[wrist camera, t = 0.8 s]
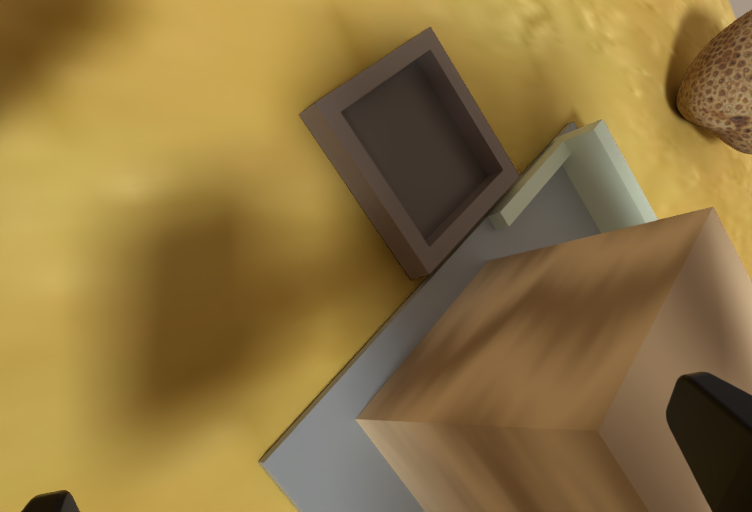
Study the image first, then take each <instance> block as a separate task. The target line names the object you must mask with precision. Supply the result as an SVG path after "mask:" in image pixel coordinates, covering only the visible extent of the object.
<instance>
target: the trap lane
mask: <svg viewBox="0 0 752 512" xmlns="http://www.w3.org/2000/svg"><path fill="white" fill-rule="evenodd" d="M299 116H300V117H301V119H302V120H303V122H304V123H305V125H306V126H307V127H308V129H309V130H310V132H311V133H312V135H313V136H314V138H315V139H316V141H317V142H318V144H319V145H320V147H321V148H322V150H323V151H324V153H325V154H326V155H327V157H328V158H329V160H330V161H331V163H332V164H333V166H334V167H335V169H336V170H337V172H338V173H339V175H340V176H341V178H342V179H343V180H344V182H345V183H346V185H347V186H348V188H349V189H350V191H351V192H352V194H353V195H354V197H355V198H356V200H357V201H358V203H359V204H360V205H361V207H362V208H363V210H364V211H365V213H366V214H367V216H368V217H369V219H370V220H371V222H372V223H373V225H374V226H375V228H376V229H377V231H378V232H379V233H380V235H381V236H382V238H383V239H384V241H385V242H386V244H387V245H388V247H389V248H390V250H391V251H392V253H393V254H394V256H395V257H396V258H397V260H398V261H399V263H400V264H401V266H402V267H403V269H404V270H405V272H406V273H407V275H408V276H409V278H410V279H413V278H417V277H421V276H425V275H429V274H430V273H431V272H432V273H431V274H430V275H429V276H428V277H427V278H426V279H425V280H424V281H423V282H422V284H421V285H420V286H419V287H418V288H417V289H416V290H415V291H414V292H413V293H412V294H411V296H410V297H409V298H408V299H407V300H406V301H405V302H404V303H403V304H402V305H401V306H400V308H399V309H398V310H397V311H396V312H395V313H394V314H393V315H392V316H391V317H390V319H389V320H388V321H387V322H386V323H385V324H384V325H383V326H382V327H381V328H380V329H379V331H378V332H377V333H376V334H375V335H374V336H373V337H372V338H371V339H370V340H369V341H368V343H367V344H366V345H365V346H364V347H363V348H362V349H361V350H360V351H359V352H358V353H357V355H356V356H355V357H354V358H353V359H352V360H351V361H350V362H349V363H348V364H347V366H346V367H345V368H344V369H343V370H342V371H341V372H340V373H339V374H338V375H337V376H336V378H335V379H334V380H333V381H332V382H331V383H330V384H329V385H328V386H327V387H326V388H325V390H324V391H323V392H322V393H321V394H320V395H319V396H318V397H317V398H316V399H315V400H314V402H313V403H312V404H311V405H310V406H309V407H308V408H307V409H306V410H305V411H304V413H303V414H302V415H301V416H300V417H299V418H298V419H297V420H296V421H295V422H294V423H293V425H292V426H291V427H290V428H289V429H288V430H287V431H286V432H285V433H284V434H283V435H282V437H281V438H280V439H279V440H278V441H277V442H276V443H275V444H274V445H273V446H272V447H271V449H270V450H269V451H268V452H267V453H266V454H265V455H264V456H263V457H262V458H261V460H260V461H259V464H260V465H261V466H262V467H263V469H264V470H265V471H266V472H267V473H268V475H269V476H270V477H271V478H272V479H273V481H274V482H275V483H276V484H277V486H278V487H279V488H280V489H281V490H282V492H283V493H284V494H285V495H286V496H287V498H288V499H289V500H290V501H291V503H292V504H293V505H294V506H295V507H296V509H297V510H298V511H299V512H425V511H424V509H423V508H422V507H421V505H420V504H419V503H418V502H417V500H416V499H415V498H414V496H413V495H412V494H411V492H410V491H409V490H408V488H407V487H406V486H405V484H404V483H403V482H402V480H401V479H400V478H399V476H398V475H397V474H396V472H395V471H394V470H393V468H392V467H391V466H390V464H389V463H388V462H387V461H386V459H385V458H384V457H383V455H382V454H381V453H380V451H379V450H378V449H377V447H376V446H375V445H374V443H373V442H372V441H371V439H370V438H369V437H368V435H367V434H366V433H365V431H364V430H363V429H362V427H361V426H360V425H359V423H358V422H357V421H356V420H355V419H356V418H357V417H358V415H359V414H360V413H361V412H362V411H363V409H364V408H365V407H366V406H367V405H368V403H369V402H370V401H371V400H372V399H373V397H374V396H375V395H376V394H377V393H378V391H379V390H380V389H381V388H382V387H383V386H384V384H385V383H386V382H387V381H388V380H389V378H390V377H391V376H392V375H393V374H394V372H395V371H396V370H397V369H398V368H399V366H400V365H401V364H402V363H403V362H404V361H405V359H406V358H407V357H408V356H409V355H410V353H411V352H412V351H413V350H414V349H415V347H416V346H417V345H418V344H419V343H420V341H421V340H422V339H423V338H424V337H425V335H426V334H427V333H428V332H429V331H430V330H431V328H432V327H433V326H434V325H435V324H436V322H437V321H438V320H439V319H440V318H441V316H442V315H443V314H444V313H445V312H446V310H447V309H448V308H449V307H450V306H451V305H452V303H453V302H454V301H455V300H456V299H457V297H458V296H459V295H460V294H461V293H462V291H463V290H464V289H465V288H466V287H467V285H468V284H469V283H470V282H471V281H472V279H473V278H474V277H475V276H476V275H477V274H478V272H479V271H480V270H481V269H482V268H483V266H484V265H485V264H486V263H487V262H488V261H489V260H493V259H497V258H502V257H506V256H510V255H514V254H518V253H523V252H527V251H531V250H535V249H539V248H543V247H548V246H552V245H556V244H560V243H564V242H568V241H573V240H577V239H581V238H585V237H589V236H594V235H598V234H602V233H606V232H610V231H614V230H619V229H623V228H627V227H631V226H635V225H640V224H644V223H648V222H652V221H656V220H658V219H657V217H656V215H655V213H654V212H653V210H652V208H651V206H650V204H649V202H648V201H647V199H646V197H645V195H644V193H643V191H642V190H641V188H640V186H639V184H638V182H637V180H636V179H635V177H634V175H633V173H632V171H631V169H630V168H629V166H628V164H627V162H626V160H625V159H624V157H623V155H622V153H621V151H620V149H619V148H618V146H617V144H616V142H615V140H614V138H613V137H612V135H611V133H610V131H609V129H608V127H607V126H606V124H605V122H604V120H603V119H601V120H598V121H596V122H593V123H591V124H588V125H586V126H584V127H581V128H579V129H578V128H577V126H576V125H575V123H574V121H573V122H571V123H568V124H567V125H566V126H565V127H564V128H563V129H562V130H561V132H560V133H559V134H558V135H557V136H556V137H555V138H554V139H553V140H552V141H551V143H550V144H549V145H548V146H547V147H546V148H545V149H544V150H543V151H542V152H541V153H540V155H539V156H538V157H537V158H536V159H535V160H534V161H533V162H532V163H531V164H530V165H529V167H528V168H527V169H526V170H525V171H524V172H523V173H522V174H521V175H520V176H519V174H518V172H517V171H516V169H515V167H514V166H513V164H512V162H511V160H510V159H509V157H508V155H507V154H506V152H505V150H504V149H503V147H502V145H501V144H500V142H499V140H498V139H497V137H496V135H495V134H494V132H493V130H492V129H491V127H490V125H489V124H488V122H487V120H486V119H485V117H484V115H483V114H482V112H481V110H480V109H479V107H478V105H477V104H476V102H475V100H474V99H473V97H472V95H471V94H470V92H469V90H468V89H467V87H466V85H465V84H464V82H463V80H462V79H461V77H460V75H459V74H458V72H457V70H456V69H455V67H454V65H453V64H452V62H451V60H450V59H449V57H448V55H447V53H446V52H445V50H444V48H443V47H442V45H441V43H440V42H439V40H438V38H437V37H436V35H435V33H434V32H433V30H432V28H431V27H429V28H428V29H426V30H425V31H423V32H422V33H420V34H419V35H417V36H416V37H414V38H413V39H411V40H410V41H408V42H407V43H405V44H403V45H402V46H400V47H399V48H397V49H396V50H394V51H393V52H391V53H390V54H388V55H387V56H385V57H384V58H382V59H381V60H379V61H378V62H376V63H375V64H373V65H372V66H370V67H369V68H367V69H366V70H364V71H362V72H361V73H359V74H358V75H356V76H355V77H353V78H352V79H350V80H349V81H347V82H346V83H344V84H343V85H341V86H340V87H338V88H337V89H335V90H334V91H332V92H331V93H329V94H328V95H326V96H325V97H323V98H321V99H320V100H318V101H317V102H315V103H314V104H313V105H311V106H310V107H309V108H307V109H306V110H305V111H303V112H302V113H300V114H299ZM517 178H518V179H517ZM516 179H517V180H516ZM507 189H508V190H507ZM506 190H507V191H506ZM505 191H506V192H505ZM496 201H497V202H496ZM495 202H496V203H495ZM494 203H495V204H494ZM485 213H486V214H485ZM484 214H485V215H484ZM474 225H475V226H474ZM473 226H474V227H473ZM464 236H465V237H464ZM463 237H464V238H463ZM462 238H463V239H462ZM453 248H454V249H453ZM452 249H453V250H452ZM451 250H452V251H451ZM442 260H443V261H442ZM441 261H442V262H441ZM440 262H441V263H440Z"/></svg>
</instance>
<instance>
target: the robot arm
mask: <svg viewBox="0 0 752 512" xmlns="http://www.w3.org/2000/svg"><path fill="white" fill-rule="evenodd" d="M666 420H667V423H668V426H669V428H670V430H671V432H672V434H673V436H674V438H675V440H676V442H677V444H678V446H679V448H680V450H681V452H682V454H683V456H684V458H685V460H686V462H687V464H688V466H689V468H690V470H691V472H692V474H693V476H694V478H695V480H696V482H697V484H698V486H699V488H700V490H701V492H702V494H703V496H704V497H705V499H706V501H707V503H708V505H709V507H710V509H711V511H712V512H752V395H751V394H749V393H747V392H745V391H743V390H741V389H740V388H738V387H736V386H734V385H732V384H730V383H728V382H726V381H724V380H723V379H721V378H719V377H717V376H715V375H713V374H711V373H708V372H695V373H690V374H684V375H682V376H680V377H679V378H678V379H677V381H676V383H675V386H674V389H673V392H672V394H671V397H670V400H669V403H668V405H667V408H666ZM21 512H80V511H79V509H78V507H77V505H76V503H75V501H74V498H73V496H72V495H71V493H70V492H68V491H66V490H61V491H56V492H50V493H45V494H40V495H37V496H35V497H34V498H32V499H31V500H30V501H29V502H28V504H27V505H26V506H25V508H24V509H23V510H22V511H21Z"/></svg>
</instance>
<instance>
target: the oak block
mask: <svg viewBox="0 0 752 512" xmlns="http://www.w3.org/2000/svg"><path fill="white" fill-rule="evenodd" d="M695 372H708V373H711V374H713V375H715V376H717V377H719V378H721V379H723V380H724V381H726V382H728V383H730V384H732V385H734V386H736V387H738V388H740V389H741V390H743V391H745V392H747V393H749V394H751V395H752V281H751V279H750V277H749V275H748V273H747V271H746V269H745V267H744V266H743V264H742V262H741V260H740V258H739V256H738V254H737V252H736V250H735V248H734V246H733V244H732V242H731V240H730V238H729V237H728V235H727V233H726V231H725V229H724V227H723V225H722V223H721V221H720V219H719V217H718V215H717V213H716V211H715V209H714V208H713V207H711V208H706V209H702V210H698V211H694V212H690V213H685V214H681V215H677V216H673V217H669V218H665V219H660V220H656V221H652V222H648V223H644V224H640V225H635V226H631V227H627V228H623V229H619V230H614V231H610V232H606V233H602V234H598V235H594V236H589V237H585V238H581V239H577V240H573V241H568V242H564V243H560V244H556V245H552V246H548V247H543V248H539V249H535V250H531V251H527V252H523V253H518V254H514V255H510V256H506V257H502V258H497V259H493V260H489V261H488V262H487V263H486V264H485V265H484V266H483V268H482V269H481V270H480V271H479V272H478V274H477V275H476V276H475V277H474V278H473V279H472V281H471V282H470V283H469V284H468V285H467V287H466V288H465V289H464V290H463V291H462V293H461V294H460V295H459V296H458V297H457V299H456V300H455V301H454V302H453V303H452V305H451V306H450V307H449V308H448V309H447V310H446V312H445V313H444V314H443V315H442V316H441V318H440V319H439V320H438V321H437V322H436V324H435V325H434V326H433V327H432V328H431V330H430V331H429V332H428V333H427V334H426V335H425V337H424V338H423V339H422V340H421V341H420V343H419V344H418V345H417V346H416V347H415V349H414V350H413V351H412V352H411V353H410V355H409V356H408V357H407V358H406V359H405V361H404V362H403V363H402V364H401V365H400V366H399V368H398V369H397V370H396V371H395V372H394V374H393V375H392V376H391V377H390V378H389V380H388V381H387V382H386V383H385V384H384V386H383V387H382V388H381V389H380V390H379V391H378V393H377V394H376V395H375V396H374V397H373V399H372V400H371V401H370V402H369V403H368V405H367V406H366V407H365V408H364V409H363V411H362V412H361V413H360V414H359V415H358V417H357V418H356V419H355V420H356V421H357V422H358V423H359V425H360V426H361V427H362V429H363V430H364V431H365V433H366V434H367V435H368V437H369V438H370V439H371V441H372V442H373V443H374V445H375V446H376V447H377V449H378V450H379V451H380V453H381V454H382V455H383V457H384V458H385V459H386V461H387V462H388V463H389V464H390V466H391V467H392V468H393V470H394V471H395V472H396V474H397V475H398V476H399V478H400V479H401V480H402V482H403V483H404V484H405V486H406V487H407V488H408V490H409V491H410V492H411V494H412V495H413V496H414V498H415V499H416V500H417V502H418V503H419V504H420V505H421V507H422V508H423V509H424V511H425V512H712V511H711V509H710V507H709V505H708V503H707V501H706V499H705V497H704V496H703V494H702V492H701V490H700V488H699V486H698V484H697V482H696V480H695V478H694V476H693V474H692V472H691V470H690V468H689V466H688V464H687V462H686V460H685V458H684V456H683V454H682V452H681V450H680V448H679V446H678V444H677V442H676V440H675V438H674V436H673V434H672V432H671V430H670V428H669V426H668V423H667V420H666V408H667V405H668V403H669V400H670V397H671V394H672V392H673V389H674V386H675V383H676V381H677V379H678V378H679V377H680V376H682V375H684V374H690V373H695Z"/></svg>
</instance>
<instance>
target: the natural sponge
mask: <svg viewBox="0 0 752 512" xmlns="http://www.w3.org/2000/svg"><path fill="white" fill-rule="evenodd" d="M676 106H677V109H678V110H679V112H680V113H681V115H682V116H683V117H684V118H685V119H687V120H688V121H690V122H692V123H694V124H696V125H699V126H702V127H705V128H707V129H708V130H710V131H712V132H713V133H714V134H715V135H716V136H717V137H718V138H720V139H721V140H722V141H723V142H724V143H726V144H727V145H729V146H730V147H732V148H734V149H735V150H737V151H740V152H743V153H746V154H752V10H751V11H749V12H747V13H746V14H744V15H743V16H741V17H740V18H738V19H736V20H735V21H734V22H733V23H732V24H730V25H729V26H728V27H726V28H725V29H724V30H723V31H722V32H720V33H719V34H718V35H717V36H716V37H714V38H713V39H712V40H711V41H710V42H709V43H708V44H707V45H706V46H705V47H704V48H703V50H702V51H701V52H700V53H699V54H698V55H697V57H696V58H695V59H694V61H693V62H692V63H691V65H690V67H689V68H688V70H687V72H686V74H685V76H684V78H683V81H682V83H681V85H680V87H679V91H678V94H677V100H676Z"/></svg>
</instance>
